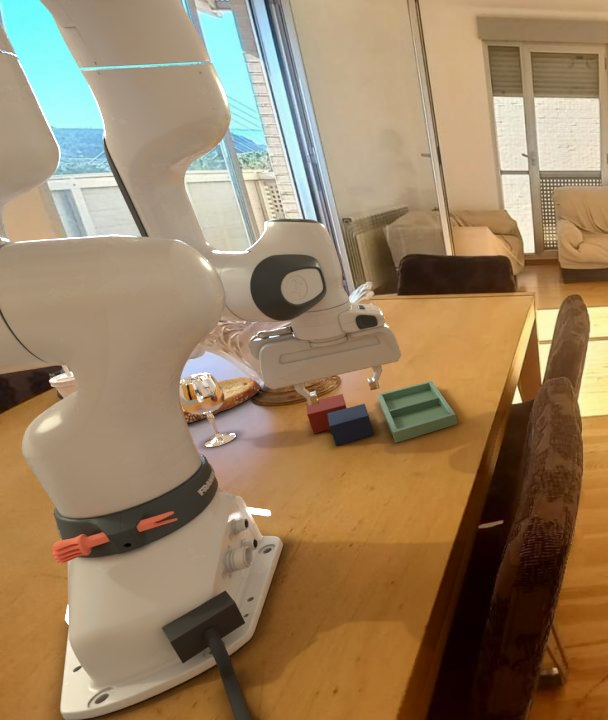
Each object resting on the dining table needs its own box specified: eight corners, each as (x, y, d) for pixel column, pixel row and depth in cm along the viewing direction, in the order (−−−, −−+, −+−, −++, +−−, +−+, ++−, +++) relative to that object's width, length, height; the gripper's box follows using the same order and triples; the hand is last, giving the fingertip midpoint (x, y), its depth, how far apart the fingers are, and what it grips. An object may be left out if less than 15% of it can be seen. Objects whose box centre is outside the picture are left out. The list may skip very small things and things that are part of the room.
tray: (457, 424, 87) (455, 414, 86) (395, 443, 81) (392, 432, 81) (433, 389, 100) (431, 380, 99) (379, 403, 95) (377, 394, 94)
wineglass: (217, 450, 81) (190, 387, 76) (190, 447, 82) (162, 385, 77) (248, 432, 86) (224, 372, 81) (222, 430, 87) (197, 370, 82)
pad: (374, 435, 84) (368, 415, 82) (335, 446, 81) (329, 426, 79) (369, 422, 88) (364, 403, 87) (333, 432, 85) (327, 413, 84)
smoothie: (65, 426, 90) (27, 358, 85) (107, 409, 96) (74, 345, 90) (87, 430, 88) (49, 361, 83) (128, 413, 94) (95, 348, 88)
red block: (350, 423, 88) (345, 404, 86) (313, 434, 85) (307, 414, 83) (347, 412, 92) (342, 393, 91) (312, 421, 89) (306, 402, 88)
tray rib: (439, 404, 93) (438, 397, 92) (391, 418, 88) (389, 411, 88) (439, 403, 93) (437, 396, 92) (391, 416, 89) (389, 409, 88)
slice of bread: (267, 383, 105) (262, 368, 104) (227, 423, 89) (219, 406, 88) (173, 394, 101) (166, 378, 100) (113, 438, 85) (103, 420, 84)
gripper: (243, 340, 69) (273, 421, 75) (393, 314, 79) (410, 387, 85) (245, 328, 74) (273, 405, 79) (386, 304, 84) (402, 374, 90)
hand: (345, 395), depth 82 cm, fingers open, 8 cm apart
